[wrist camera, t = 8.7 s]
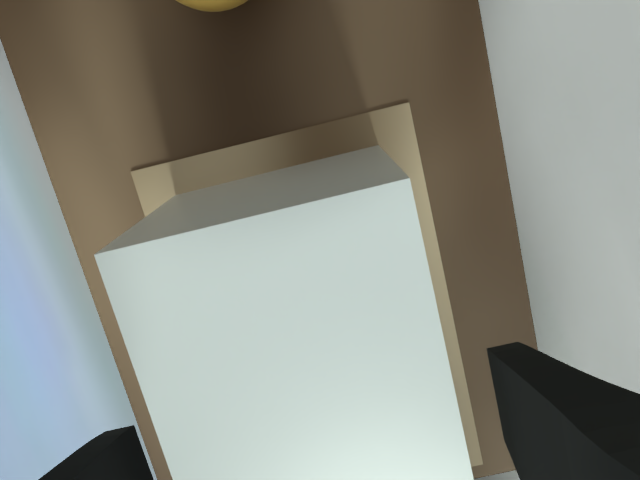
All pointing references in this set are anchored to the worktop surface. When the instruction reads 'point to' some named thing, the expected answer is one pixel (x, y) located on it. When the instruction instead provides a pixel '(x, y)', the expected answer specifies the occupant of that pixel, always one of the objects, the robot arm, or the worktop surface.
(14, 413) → the worktop surface
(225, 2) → the marble
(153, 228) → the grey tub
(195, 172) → the walnut board
